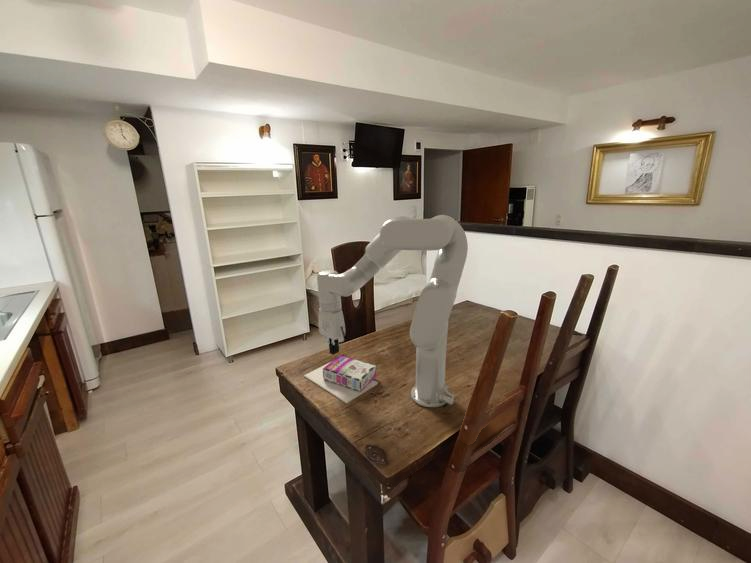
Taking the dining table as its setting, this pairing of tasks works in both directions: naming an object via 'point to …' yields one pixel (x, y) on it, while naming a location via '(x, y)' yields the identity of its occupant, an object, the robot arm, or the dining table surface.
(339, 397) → the mat
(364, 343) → the dining table surface
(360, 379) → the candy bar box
